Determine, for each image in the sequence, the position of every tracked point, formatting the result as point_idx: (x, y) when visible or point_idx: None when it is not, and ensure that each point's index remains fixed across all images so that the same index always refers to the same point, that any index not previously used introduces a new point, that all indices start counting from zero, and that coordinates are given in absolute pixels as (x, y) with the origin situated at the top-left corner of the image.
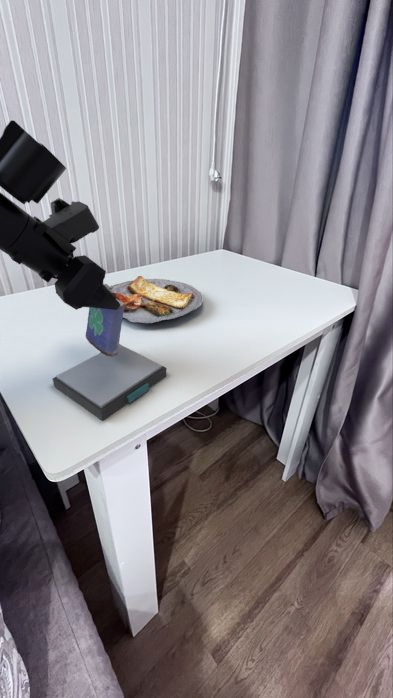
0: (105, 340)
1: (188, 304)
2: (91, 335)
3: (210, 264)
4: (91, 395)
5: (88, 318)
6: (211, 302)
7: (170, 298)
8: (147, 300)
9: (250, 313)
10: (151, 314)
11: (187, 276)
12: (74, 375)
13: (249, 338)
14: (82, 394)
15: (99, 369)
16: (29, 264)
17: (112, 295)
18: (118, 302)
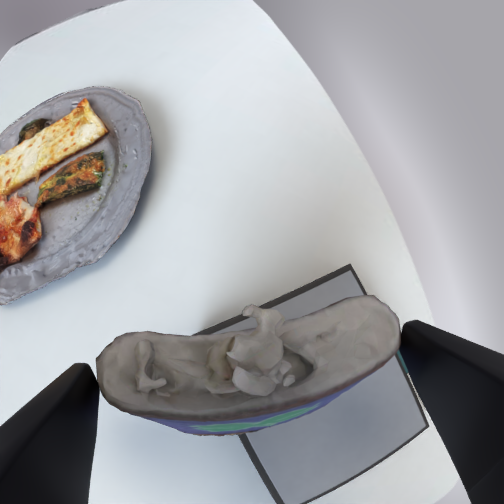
0: (329, 401)
1: (101, 119)
2: (241, 430)
3: (20, 66)
4: (392, 443)
5: (180, 428)
6: (116, 87)
7: (58, 141)
8: (26, 188)
9: (195, 57)
10: (79, 200)
11: (15, 100)
12: (307, 475)
13: (272, 89)
14: (377, 460)
15: (309, 418)
16: None
17: (488, 349)
18: (431, 327)
